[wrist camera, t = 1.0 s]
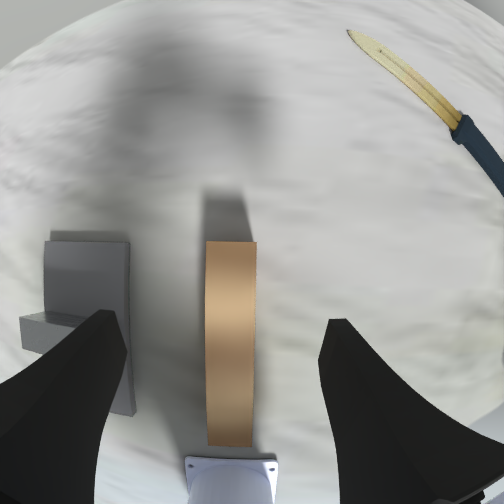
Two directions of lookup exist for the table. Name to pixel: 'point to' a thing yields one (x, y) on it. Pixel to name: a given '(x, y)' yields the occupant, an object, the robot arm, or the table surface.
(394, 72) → the knife
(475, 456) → the robot arm
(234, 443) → the bar
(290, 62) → the table surface
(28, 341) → the stand
